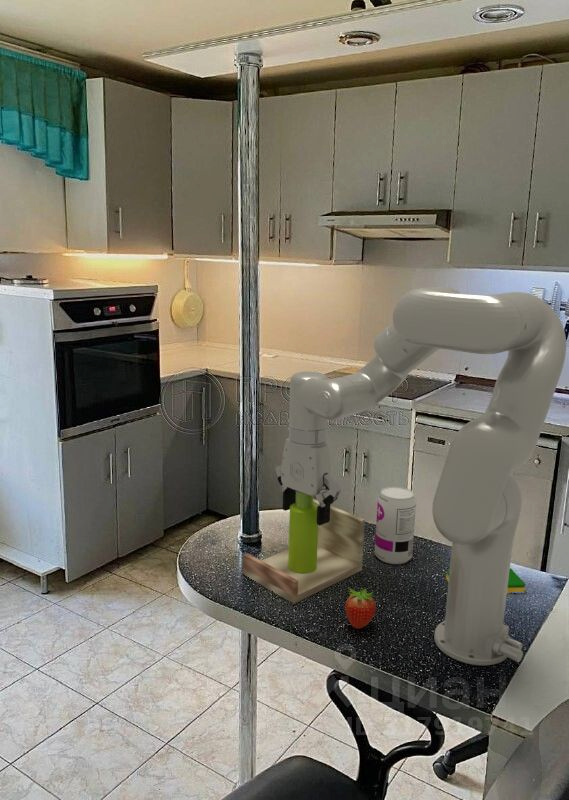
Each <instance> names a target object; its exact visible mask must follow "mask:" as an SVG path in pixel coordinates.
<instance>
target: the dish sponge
mask: <svg viewBox="0 0 569 800" xmlns="http://www.w3.org/2000/svg"><path fill="white" fill-rule="evenodd" d="M449 572H450V569H447V570H446V574H445V575H446V576H445V580H446V581H447V582H448V583H449ZM525 590H526V583H525V581H523V580H522V579H521V578H520V577H519V576H518V574H517V573H516V572H515V571H514V570H513V568H511V567H510V570H509V578H508V587H507V593H510V592H524V591H525ZM525 592H526V591H525ZM525 592H524V593H525Z"/></svg>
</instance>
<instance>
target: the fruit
mask: <svg viewBox="0 0 569 800" xmlns="http://www.w3.org/2000/svg"><path fill="white" fill-rule="evenodd" d="M350 592H351V593H350ZM374 593H375V592H374V591H372V592H368V593H367V588H364V589H362V588H360V591H355V590H353V589H352V588H351V587H349V592H348V594H349V596H348V598H347V600H346V601H345V608H344V609H345V614H346V618H347V619H348V622H349V623H350V625H351V626H352V627H353V628H354V629H356V630H359V629H362V628H365V627H366V626H367V625H368V624H369V623H370V622H371V621H372V620H373V618H374V617H375V615H376V610H377V607H376V602H375V600H374V598H373V596H371V595H372V594H374Z"/></svg>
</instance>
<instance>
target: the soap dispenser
mask: <svg viewBox="0 0 569 800" xmlns="http://www.w3.org/2000/svg"><path fill="white" fill-rule="evenodd" d="M288 529H289V530H288V532H289V533H288V549H289V557H288V567H289V569H290V570H292V571H294V572H297V573H310V572H313V571H315V570H316V568H317V546H318V525H317V505H316V504H314V503H313V496H309V495H306V494H303V493H301V492H298V491H296V503H293V504H292V505H291V506H290V509H289V527H288Z"/></svg>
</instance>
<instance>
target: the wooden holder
mask: <svg viewBox="0 0 569 800" xmlns="http://www.w3.org/2000/svg"><path fill="white" fill-rule="evenodd" d="M313 503H314V504H316V505H317V506H319V505H320V504H319V502H318V500H316V499H313ZM365 523H366V521H365V518H363V517H360V516H358V515H355V514H353V513H349V512H347V511H345V510H343V509H340V508H337V507H335V506H332V505H330V521H329V522H328V523H325V524H323V525H320V526H319V525H318V546H317V568H316V570H315V571H313V572H310V573H297V572H294V571H292V570H290V569H289V567H288V557H289V548H288V549H286V550H282V551H281V552H279V553H276V554H273V555H270V556H269V557H266V558H264V559H261V560H260V559H259V558H257V557H255V556H254V555H251V554H250V553H248V552H245V553H243V554H242V575H243V574H244V575H245V577H246V576H247V578H248V577H249V578H248V579H250V580H251V579H252V581H253V580H254V581H253V582H255V581H256V582H255V583H257V584H258V583H259V585H260V584H261V585H260V586H262V587H264V588H265V589H267V590H269V591H270V592H272V591H273V593H274V594H276V595H278V596H279V597H281V598H283V599H285V600H286V601H288V602H290V603H291V604H294V605H295V604H296V603H298V602H301V601H303V600H304V599H307V598H308V597H312V596H313V595H314V594H316V593H318V592H321V591H322V590H325V589H327V588H329V587H331V586H333V585H335V584H337V583H339V582H342V581H344V580H345V579H347V578H350V577H351V576H353V575H356V574H357V573H359V572H361V571H363V557H364V544H365V543H364V541H365V540H364V539H365ZM244 575H243V576H244Z"/></svg>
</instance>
